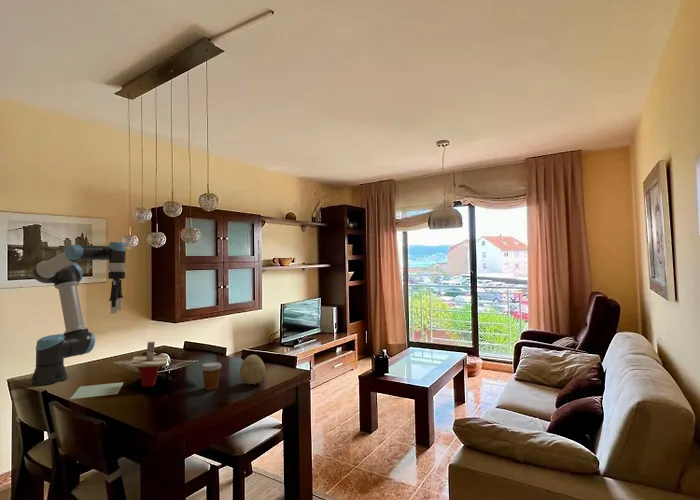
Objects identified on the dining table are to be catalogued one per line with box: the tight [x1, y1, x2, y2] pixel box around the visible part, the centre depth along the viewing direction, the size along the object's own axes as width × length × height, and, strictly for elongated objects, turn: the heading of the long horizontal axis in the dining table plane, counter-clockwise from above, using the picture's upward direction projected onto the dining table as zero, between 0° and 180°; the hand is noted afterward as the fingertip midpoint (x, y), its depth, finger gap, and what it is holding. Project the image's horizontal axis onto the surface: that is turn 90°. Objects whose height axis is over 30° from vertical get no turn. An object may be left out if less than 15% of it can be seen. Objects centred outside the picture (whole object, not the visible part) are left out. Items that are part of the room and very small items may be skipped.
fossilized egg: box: [239, 354, 266, 385], centre depth 201 cm, size 13×13×15 cm
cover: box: [129, 341, 169, 368], centre depth 198 cm, size 16×16×10 cm
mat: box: [69, 381, 124, 400], centre depth 189 cm, size 19×19×1 cm
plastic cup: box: [138, 366, 160, 388], centre depth 198 cm, size 11×11×12 cm
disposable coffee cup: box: [201, 361, 223, 391], centre depth 194 cm, size 10×10×12 cm
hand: (116, 311), depth 203 cm, fingers open, 13 cm apart
